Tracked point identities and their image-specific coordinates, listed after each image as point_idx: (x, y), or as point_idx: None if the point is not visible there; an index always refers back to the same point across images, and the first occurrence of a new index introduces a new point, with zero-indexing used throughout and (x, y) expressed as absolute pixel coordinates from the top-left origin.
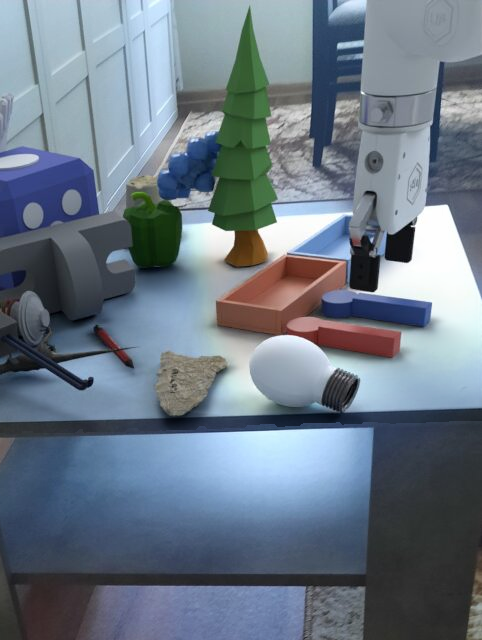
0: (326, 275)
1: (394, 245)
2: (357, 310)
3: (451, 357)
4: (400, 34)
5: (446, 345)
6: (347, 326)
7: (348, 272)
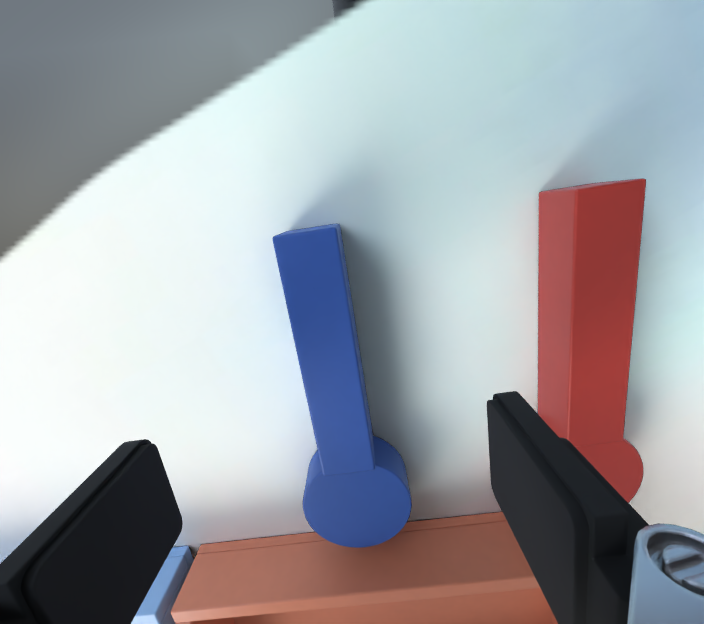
0: (298, 602)
1: (135, 555)
2: (371, 430)
3: (520, 3)
4: None
5: (435, 76)
6: (595, 370)
7: (171, 573)
